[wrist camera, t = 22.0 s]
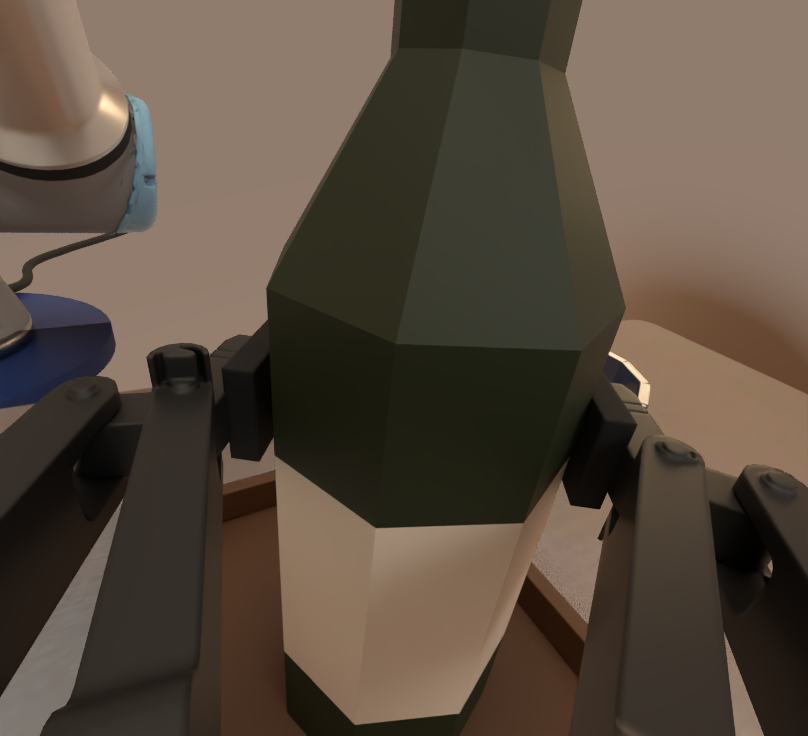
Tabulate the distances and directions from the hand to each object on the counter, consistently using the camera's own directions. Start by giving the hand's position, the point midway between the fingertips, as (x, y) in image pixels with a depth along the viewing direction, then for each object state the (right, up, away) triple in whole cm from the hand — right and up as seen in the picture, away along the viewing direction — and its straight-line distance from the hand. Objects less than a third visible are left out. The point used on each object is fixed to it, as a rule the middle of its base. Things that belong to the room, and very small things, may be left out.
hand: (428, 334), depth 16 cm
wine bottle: (-2, -14, +2) cm, 14 cm away
